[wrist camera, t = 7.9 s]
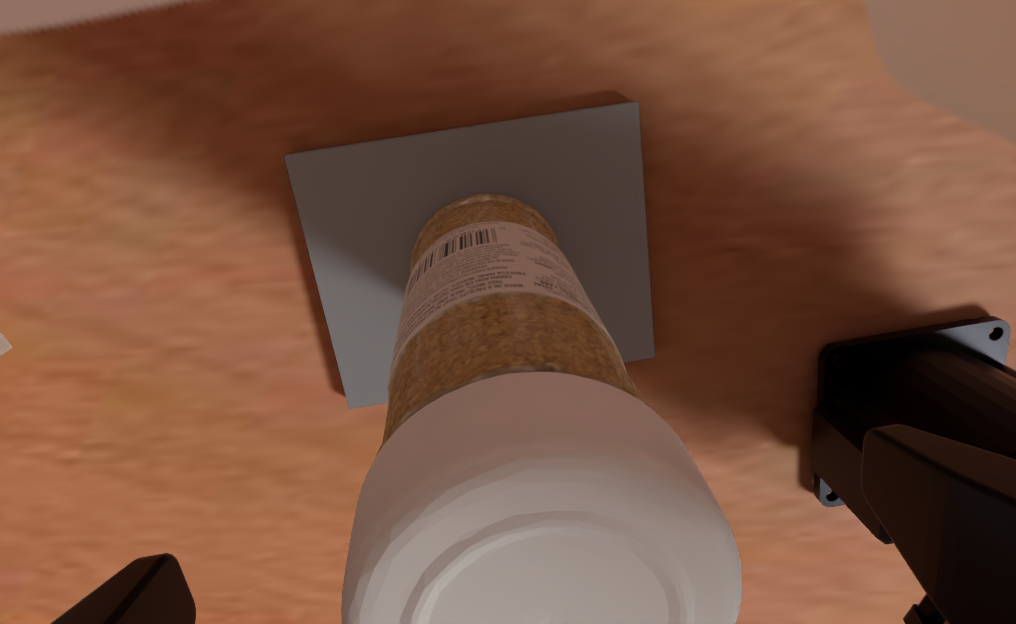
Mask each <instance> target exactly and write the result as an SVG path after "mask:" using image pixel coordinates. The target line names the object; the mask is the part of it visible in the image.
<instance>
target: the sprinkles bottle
mask: <svg viewBox="0 0 1016 624" xmlns="http://www.w3.org/2000/svg"><path fill="white" fill-rule="evenodd" d="M387 393H388V399H389V406H388V412H387V417H386V425H385V431H384V437H383V443H382V445H381V447H380V449H379V451H378V453H377V456H376V458H375V460H374V462H373V464H372V466H371V468H370V469H369V471H368V473H367V476H366V478H365V481H364V483H363V486H362V489H361V492H360V496H359V500H358V504H357V509H356V514H355V518H354V523H353V528H352V533H351V539H350V545H349V551H348V557H347V563H346V569H345V576H344V583H343V591H342V607H341V612H342V624H736V621H737V618H738V613H739V608H740V603H741V597H742V572H741V561H740V557H739V553H738V548H737V545H736V542H735V539H734V536H733V533H732V531H731V529H730V526H729V524H728V522H727V519H726V518H725V516H724V514H723V512H722V510H721V508H720V506H719V505H718V503H717V501H716V499H715V497H714V495H713V494H712V492H711V490H710V488H709V486H708V484H707V483H706V481H705V479H704V477H703V476H702V474H701V472H700V471H699V469H698V467H697V466H696V464H695V462H694V461H693V459H692V457H691V456H690V454H689V452H688V451H687V449H686V447H685V446H684V444H683V442H682V441H681V439H680V437H679V436H678V435H677V434H676V433H675V432H674V430H673V429H672V428H671V427H670V426H669V425H668V424H667V423H666V422H665V421H664V420H663V419H662V418H661V417H660V416H659V415H658V414H657V413H656V412H655V411H654V410H653V409H652V408H650V407H649V406H648V405H647V403H646V402H645V401H644V400H642V398H641V397H640V395H639V393H638V391H637V388H636V386H635V384H634V383H633V382H632V380H631V379H630V377H629V376H628V375H627V373H626V369H625V366H624V363H623V360H622V358H621V355H620V353H619V351H618V349H617V347H616V345H615V343H614V341H613V340H612V338H611V336H610V334H609V333H608V331H607V329H606V327H605V326H604V324H603V322H602V321H601V319H600V317H599V315H598V314H597V312H596V310H595V308H594V307H593V305H592V303H591V302H590V300H589V298H588V296H587V294H586V293H585V291H584V289H583V287H582V285H581V283H580V282H579V280H578V278H577V276H576V274H575V273H574V271H573V269H572V267H571V265H570V263H569V262H568V261H567V259H566V258H565V256H564V255H563V253H562V252H561V251H560V249H559V246H558V241H557V238H556V236H555V234H554V231H553V230H552V228H551V227H550V225H549V224H548V222H547V221H546V220H545V219H544V218H543V217H542V216H541V215H540V214H539V213H538V212H537V211H536V210H535V209H534V208H532V207H530V206H528V205H526V204H524V203H523V202H521V201H519V200H517V199H514V198H511V197H507V196H504V195H494V194H475V195H471V196H469V197H467V198H461V199H458V200H456V201H455V202H453V203H452V204H450V205H447V206H445V207H443V208H441V209H440V210H439V211H438V212H436V213H435V214H434V215H433V217H432V218H431V219H430V220H429V221H428V222H427V223H426V224H425V226H424V227H423V228H422V230H421V231H420V233H419V236H418V239H417V242H416V244H415V246H414V248H413V250H412V254H411V263H410V278H409V281H408V284H407V287H406V292H405V297H404V302H403V307H402V312H401V317H400V321H399V326H398V331H397V336H396V342H395V347H394V352H393V357H392V362H391V368H390V374H389V380H388V386H387Z"/></svg>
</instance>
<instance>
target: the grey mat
mask: <svg viewBox="0 0 1016 624" xmlns="http://www.w3.org/2000/svg"><path fill="white" fill-rule="evenodd" d="M284 158H285V162H286V166H287V170H288V174H289V178H290V182H291V186H292V189H293V193H294V197H295V201H296V205H297V209H298V213H299V217H300V220H301V224H302V228H303V232H304V236H305V240H306V244H307V248H308V252H309V255H310V259H311V263H312V267H313V271H314V275H315V279H316V283H317V286H318V290H319V294H320V298H321V302H322V306H323V310H324V314H325V317H326V321H327V325H328V329H329V333H330V337H331V341H332V345H333V349H334V352H335V356H336V360H337V364H338V368H339V372H340V376H341V380H342V383H343V387H344V391H345V395H346V399H347V403H348V407H349V409H352V408H358V407H364V406H370V405H376V404H382V403H388V402H389V399H388V393H387V386H388V380H389V374H390V368H391V362H392V357H393V352H394V347H395V342H396V336H397V331H398V326H399V321H400V317H401V312H402V307H403V302H404V297H405V292H406V287H407V284H408V281H409V278H410V263H411V254H412V250H413V248H414V246H415V244H416V242H417V239H418V236H419V233H420V231H421V230H422V228H423V227H424V226H425V224H426V223H427V222H428V221H429V220H430V219H431V218H432V217H433V215H434V214H435V213H436V212H438V211H439V210H440V209H441V208H443V207H445V206H447V205H450V204H452V203H453V202H455V201H456V200H458V199H461V198H467V197H469V196H471V195H475V194H494V195H504V196H507V197H511V198H514V199H517V200H519V201H521V202H523V203H524V204H526V205H528V206H530V207H532V208H534V209H535V210H536V211H537V212H538V213H539V214H540V215H541V216H542V217H543V218H544V219H545V220H546V221H547V222H548V224H549V225H550V227H551V228H552V230H553V231H554V234H555V236H556V238H557V241H558V246H559V249H560V251H561V252H562V253H563V255H564V256H565V258H566V259H567V261H568V262H569V263H570V265H571V267H572V269H573V271H574V273H575V274H576V276H577V278H578V280H579V282H580V283H581V285H582V287H583V289H584V291H585V293H586V294H587V296H588V298H589V300H590V302H591V303H592V305H593V307H594V308H595V310H596V312H597V314H598V315H599V317H600V319H601V321H602V322H603V324H604V326H605V327H606V329H607V331H608V333H609V334H610V336H611V338H612V340H613V341H614V343H615V345H616V347H617V349H618V351H619V353H620V355H621V358H622V360H623V363H626V362H632V361H638V360H644V359H650V358H655V348H654V333H653V317H652V302H651V286H650V270H649V255H648V239H647V224H646V208H645V193H644V177H643V162H642V146H641V131H640V115H639V102H636V101H630V102H624V103H617V104H611V105H604V106H597V107H591V108H584V109H578V110H571V111H565V112H558V113H552V114H545V115H539V116H532V117H525V118H519V119H512V120H506V121H499V122H493V123H486V124H480V125H473V126H466V127H460V128H453V129H447V130H440V131H434V132H427V133H421V134H414V135H408V136H401V137H394V138H388V139H381V140H375V141H368V142H362V143H355V144H349V145H342V146H335V147H329V148H322V149H316V150H309V151H303V152H296V153H290V154H287V155H285V156H284Z"/></svg>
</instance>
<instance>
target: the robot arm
mask: <svg viewBox="0 0 1016 624" xmlns="http://www.w3.org/2000/svg"><path fill="white" fill-rule="evenodd" d="M993 328H994V330H993V332H992V333H991V334H990V331H991V330H992V329H993ZM989 334H990V335H989ZM1009 337H1010V326H1009V324H1008V323H1007V322H1005V321H1004V320H1001V319H999V318H997V317H995V316H987V317H981V318H975V319H969V320H963V321H957V322H951V323H945V324H939V325H933V326H927V327H922V328H916V329H910V330H904V331H898V332H892V333H886V334H880V335H874V336H868V337H862V338H856V339H851V340H845V341H839V342H833V343H830V344H828V345H826V346H825V347H824V348H823V349H822V350H821V352H820V354H819V358H818V386H817V404H816V406H815V408H814V410H813V428H812V459H811V467H812V469H813V470H814V471H815V473H814V495H815V497H816V498H817V499H818V500H819V501H820V502H821V503H822V505H824V506H826V507H835V506H840V505H846V506H847V507H848V508H849V509H850V510H851V511H852V512H853V513H854V514H855V515H856V516H857V517H858V519H859V520H860V521H861V522H862V523H863V524H864V525H865V526H866V527H867V528H868V529H869V530H870V531H871V533H872V534H873V535H874V536H875V537H876V538H877V539H879V540H880V541H882V542H883V543H884V544H891V543H894V544H895V546H896V547H897V549H898V550H899V552H900V553H901V555H902V557H903V558H904V560H905V561H906V563H907V564H908V566H909V567H910V569H911V570H912V572H913V574H914V575H915V577H916V578H917V580H918V581H919V583H920V584H921V586H922V587H923V589H924V590H925V592H926V595H925V596H924V598H923V599H922V600H921V602H920V603H919V604H918V605H917V604H914V605H913V606H912V607H911V609H910V610H909V611H908V613H907V614H906V615H905V617H904V618H903V620H904V622H905V624H1016V371H1015V370H1013V369H1011V368H1009V367H1008V366H1006V365H1005V364H1006V357H1007V351H1008V344H1009ZM837 354H840V356H839V358H838V359H837V361H835V362H832V360H833V358H834V357H835V355H837ZM829 491H832V492H831V493H830V494H828V495H827V493H828V492H829ZM195 621H196V608H195V603H194V599H193V597H192V594H191V592H190V589H189V587H188V585H187V582H186V580H185V577H184V575H183V572H182V570H181V567H180V565H179V562H178V561H177V559H176V558H175V557H174V556H173V555H171V554H168V553H165V554H159V555H153V556H148V557H142V558H138V559H136V560H134V561H133V562H131V563H130V564H129V565H127V566H126V567H125V568H123V569H122V570H121V571H119V572H118V573H117V574H115V575H114V576H113V577H111V578H110V579H109V580H108V581H106V582H105V583H104V584H102V585H101V586H100V587H98V588H97V589H96V590H94V591H93V592H92V593H90V594H89V595H88V596H86V597H85V598H84V599H82V600H81V601H80V602H78V603H77V604H76V605H75V606H73V607H72V608H71V609H69V610H68V611H67V612H65V613H64V614H63V615H61V616H60V617H59V618H57V619H56V620H55V621H53V622H52V623H51V624H195Z"/></svg>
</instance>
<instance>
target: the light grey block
mask: <svg viewBox="0 0 1016 624" xmlns="http://www.w3.org/2000/svg"><path fill="white" fill-rule="evenodd" d="M11 348H13V347H12V346H11V345H10V344H9V342H8V341H7V340H6V339H5V337H4V336H3V335H2V334H1V332H0V355H2V354H3V353H5V352H6V351H8V350H10V349H11Z"/></svg>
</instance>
